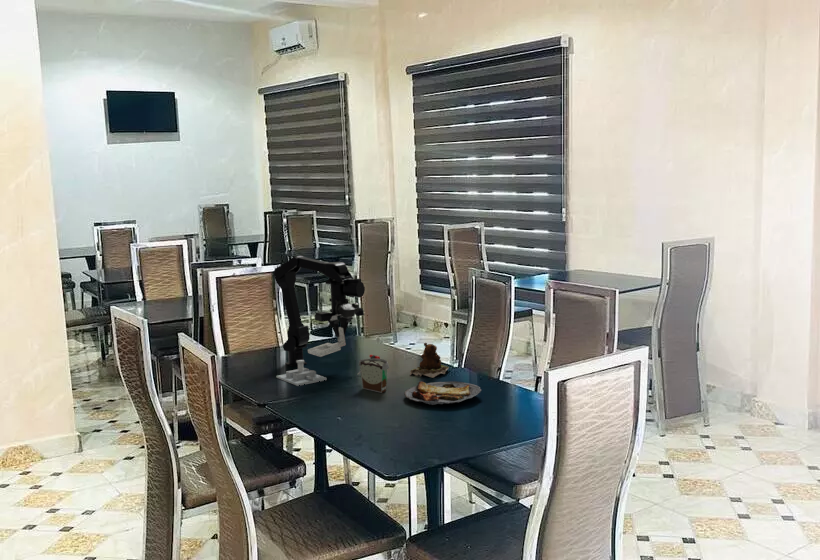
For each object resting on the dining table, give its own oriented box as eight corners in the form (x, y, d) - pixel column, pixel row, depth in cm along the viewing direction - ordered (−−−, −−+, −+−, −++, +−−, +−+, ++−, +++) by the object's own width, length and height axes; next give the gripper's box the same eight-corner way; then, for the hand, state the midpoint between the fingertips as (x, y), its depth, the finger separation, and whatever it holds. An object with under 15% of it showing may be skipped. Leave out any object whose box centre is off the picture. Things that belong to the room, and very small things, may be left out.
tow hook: (389, 370, 298) (380, 356, 295) (371, 389, 293) (362, 374, 290) (378, 367, 303) (369, 353, 300) (361, 386, 298) (351, 371, 295)
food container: (397, 389, 272) (396, 361, 271) (384, 393, 268) (383, 364, 267) (372, 384, 281) (371, 356, 280) (359, 387, 276) (358, 359, 275)
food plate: (394, 405, 255) (393, 394, 254) (418, 386, 276) (418, 376, 276) (469, 410, 246) (469, 399, 246) (488, 390, 268) (487, 380, 267)
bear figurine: (456, 370, 298) (455, 338, 296) (434, 379, 285) (433, 346, 284) (426, 366, 305) (425, 335, 304) (403, 375, 293) (402, 342, 292)
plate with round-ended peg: (276, 378, 294) (275, 360, 293) (304, 372, 301) (303, 354, 300) (297, 386, 281) (296, 367, 280) (326, 380, 288) (325, 361, 288)
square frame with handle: (338, 343, 307) (335, 325, 306) (350, 346, 300) (347, 328, 298) (308, 353, 300) (305, 335, 298) (320, 356, 292) (317, 338, 291)
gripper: (328, 301, 288) (330, 343, 290) (370, 295, 299) (372, 335, 301) (312, 298, 297) (315, 338, 299) (355, 292, 308) (356, 331, 310)
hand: (340, 336), depth 302 cm, fingers closed on square frame with handle, 2 cm apart
